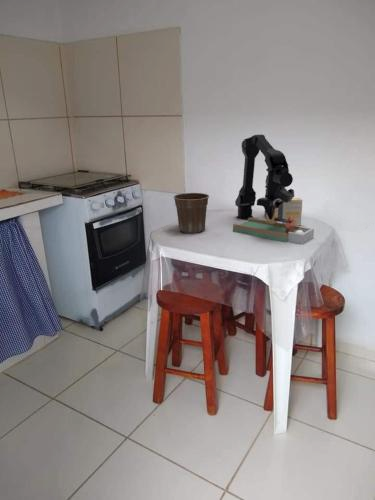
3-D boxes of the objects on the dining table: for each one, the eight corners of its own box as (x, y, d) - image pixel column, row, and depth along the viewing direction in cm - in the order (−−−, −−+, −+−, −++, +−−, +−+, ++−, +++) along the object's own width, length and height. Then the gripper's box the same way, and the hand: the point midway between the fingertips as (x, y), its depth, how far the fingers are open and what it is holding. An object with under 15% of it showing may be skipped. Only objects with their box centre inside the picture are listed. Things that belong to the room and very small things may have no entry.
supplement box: (299, 224, 189) (301, 197, 185) (300, 227, 185) (302, 199, 181) (281, 224, 190) (283, 197, 186) (282, 227, 186) (284, 199, 181)
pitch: (232, 231, 181) (233, 223, 179) (249, 224, 191) (249, 216, 189) (300, 245, 161) (301, 235, 159) (314, 236, 171) (315, 227, 169)
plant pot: (173, 225, 192) (172, 193, 186) (206, 224, 193) (206, 191, 188) (175, 235, 177) (174, 200, 171) (211, 234, 178) (211, 198, 172)
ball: (300, 241, 166) (292, 238, 168) (304, 239, 168) (296, 236, 171) (302, 233, 164) (294, 230, 166) (306, 230, 167) (298, 227, 169)
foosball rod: (264, 228, 175) (265, 207, 172) (270, 226, 178) (271, 205, 175) (289, 233, 167) (291, 211, 164) (295, 230, 171) (296, 209, 168)
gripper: (281, 188, 157) (278, 226, 162) (301, 181, 170) (298, 216, 175) (256, 185, 164) (255, 221, 169) (278, 179, 177) (276, 213, 182)
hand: (272, 218), depth 174 cm, fingers closed on foosball rod, 3 cm apart
